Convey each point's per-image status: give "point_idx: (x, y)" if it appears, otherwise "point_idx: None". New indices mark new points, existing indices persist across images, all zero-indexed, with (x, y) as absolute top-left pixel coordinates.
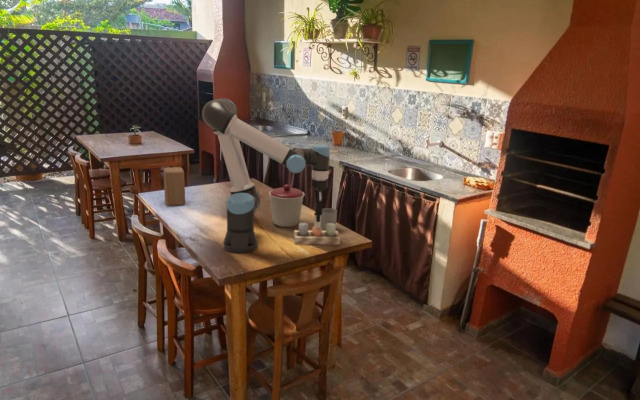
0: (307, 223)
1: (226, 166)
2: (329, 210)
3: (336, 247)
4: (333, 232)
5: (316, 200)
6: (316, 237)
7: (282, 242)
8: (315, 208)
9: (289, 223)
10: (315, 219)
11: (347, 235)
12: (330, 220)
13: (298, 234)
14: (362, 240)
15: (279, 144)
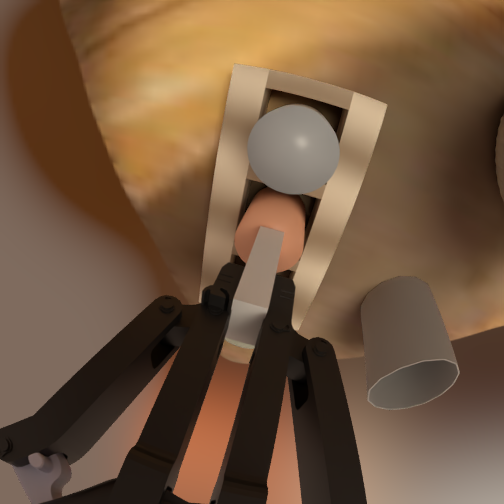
0: (301, 192)
1: None
2: (437, 384)
3: (178, 258)
4: None
5: (129, 456)
6: (221, 200)
7: (282, 7)
8: (276, 361)
9: (501, 143)
10: (245, 269)
11: None
12: (368, 351)
13: (343, 118)
14: (240, 357)
15: None
